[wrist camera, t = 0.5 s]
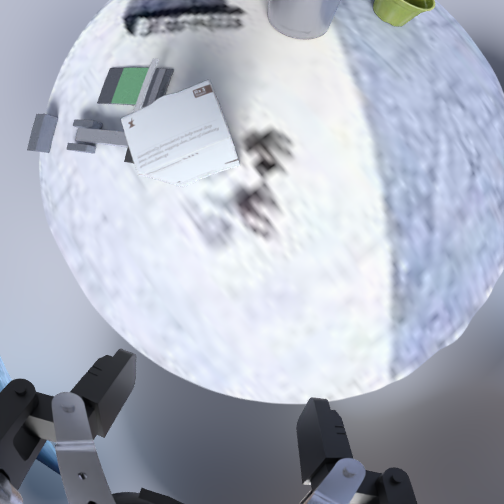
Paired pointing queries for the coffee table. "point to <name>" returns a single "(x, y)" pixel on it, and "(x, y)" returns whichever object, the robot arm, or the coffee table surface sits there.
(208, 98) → the skincare box
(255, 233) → the coffee table surface
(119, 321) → the coffee table surface
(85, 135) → the grey l-shaped bracket
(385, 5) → the plant pot
